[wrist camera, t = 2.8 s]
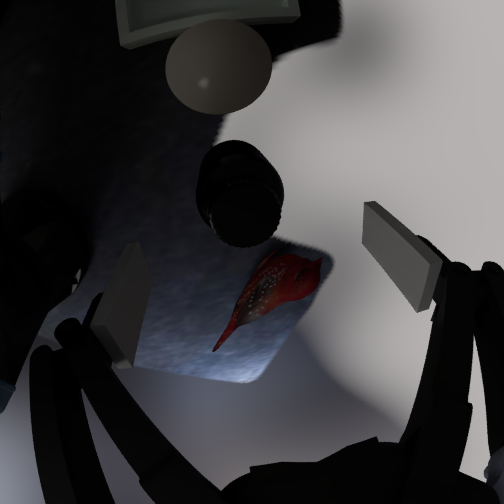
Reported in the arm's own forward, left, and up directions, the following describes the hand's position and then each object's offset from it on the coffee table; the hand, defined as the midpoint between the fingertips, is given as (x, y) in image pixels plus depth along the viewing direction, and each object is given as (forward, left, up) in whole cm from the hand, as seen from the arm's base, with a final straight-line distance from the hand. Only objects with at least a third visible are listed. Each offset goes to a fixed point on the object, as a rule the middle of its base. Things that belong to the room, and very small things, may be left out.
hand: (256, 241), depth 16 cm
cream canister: (0, +10, -15) cm, 18 cm away
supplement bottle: (0, 0, -15) cm, 15 cm away
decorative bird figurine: (0, -13, -15) cm, 20 cm away
